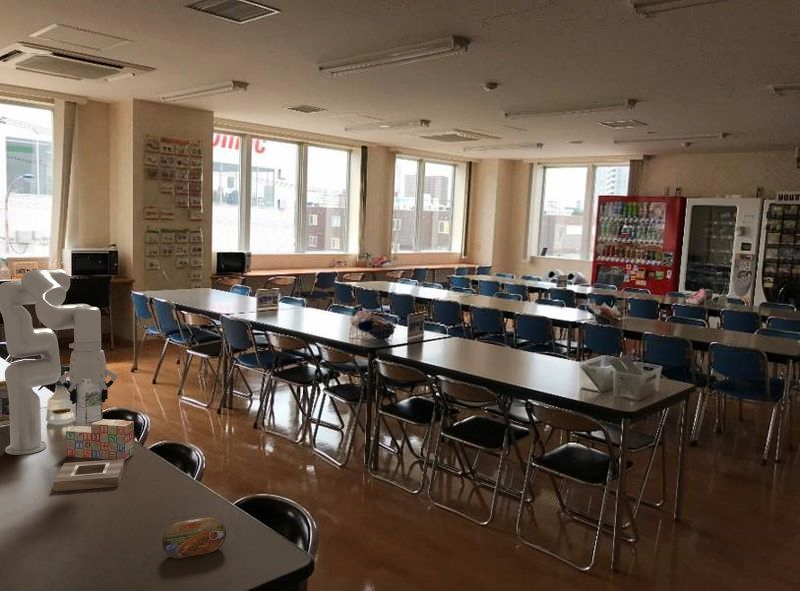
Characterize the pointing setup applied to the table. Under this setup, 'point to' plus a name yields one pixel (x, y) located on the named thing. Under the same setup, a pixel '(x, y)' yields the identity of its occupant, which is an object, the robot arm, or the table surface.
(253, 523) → the table surface
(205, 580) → the table surface
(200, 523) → the tin
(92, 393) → the syrup box
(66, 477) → the socket board
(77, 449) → the stack of blocks
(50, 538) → the table surface
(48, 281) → the robot arm
